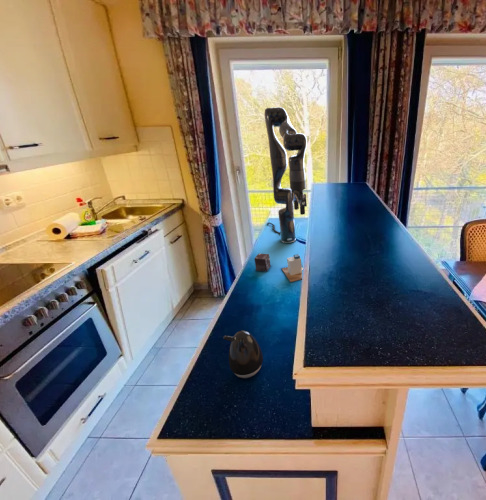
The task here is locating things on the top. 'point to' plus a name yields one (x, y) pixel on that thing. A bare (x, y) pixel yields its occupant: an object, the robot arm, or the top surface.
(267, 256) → the box
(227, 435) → the top surface
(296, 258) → the white and blue block
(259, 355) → the pump dispenser
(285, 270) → the wooden board
